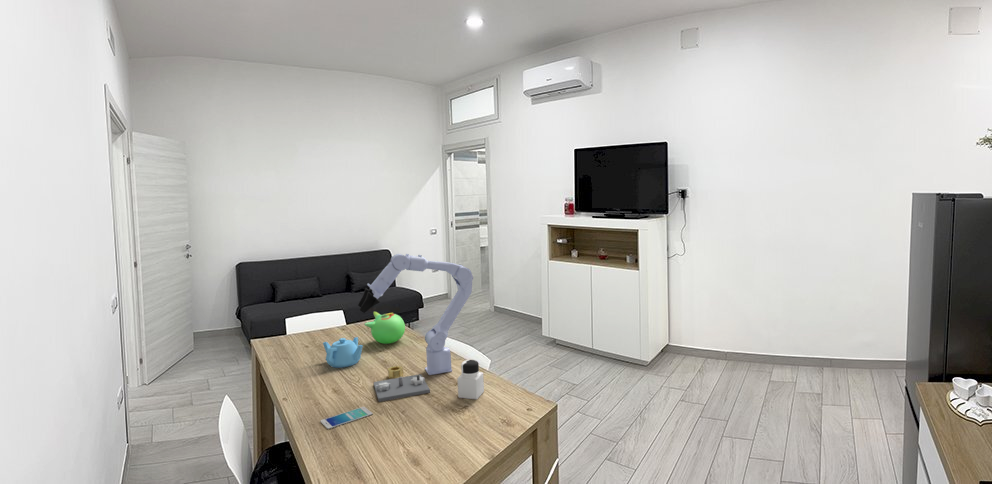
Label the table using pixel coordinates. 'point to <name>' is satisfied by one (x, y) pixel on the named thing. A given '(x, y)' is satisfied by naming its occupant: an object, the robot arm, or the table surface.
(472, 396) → the medicine bottle
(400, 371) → the brass gear
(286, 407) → the table surface
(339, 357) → the teapot
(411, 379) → the gear board
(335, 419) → the smartphone
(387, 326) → the toy bird
